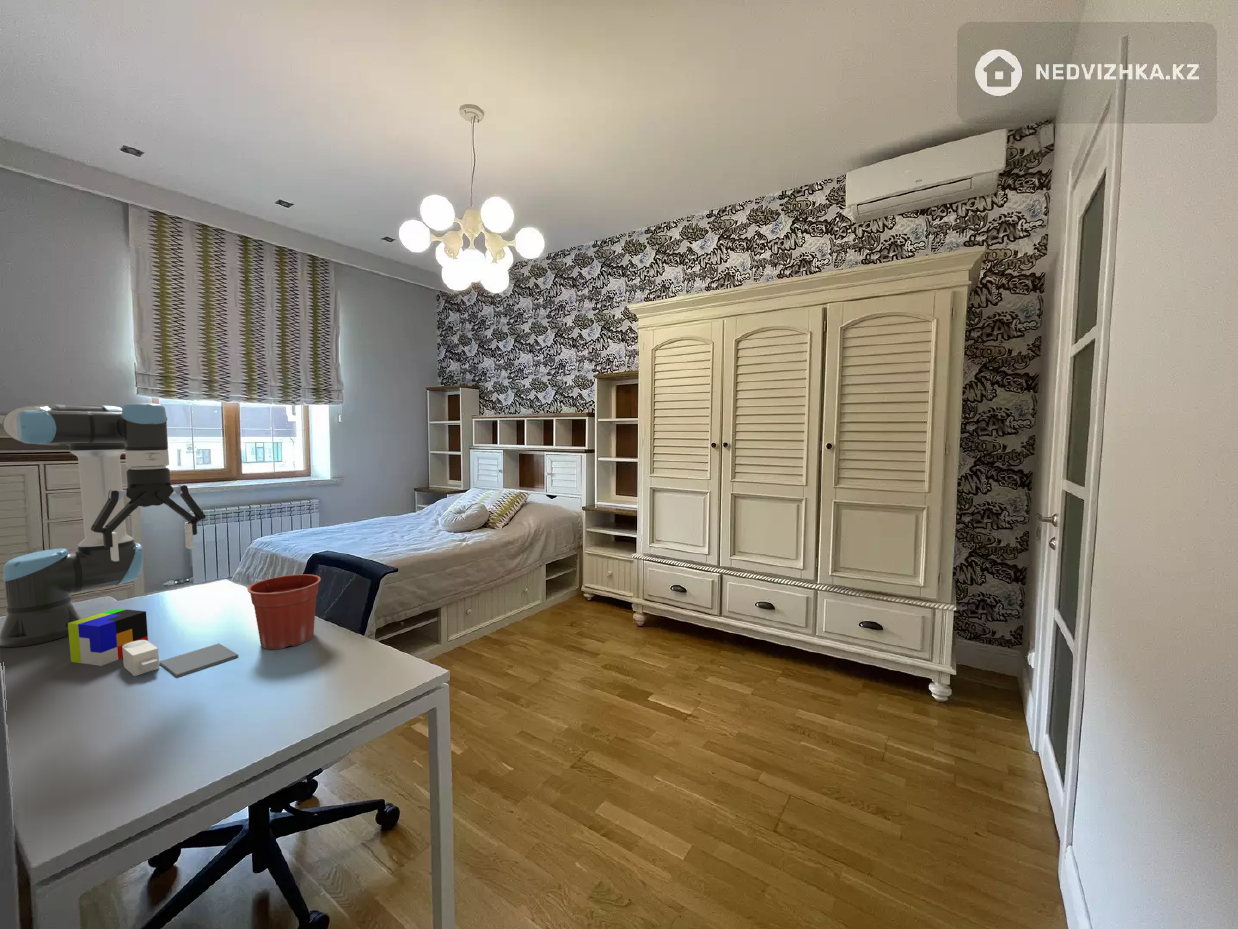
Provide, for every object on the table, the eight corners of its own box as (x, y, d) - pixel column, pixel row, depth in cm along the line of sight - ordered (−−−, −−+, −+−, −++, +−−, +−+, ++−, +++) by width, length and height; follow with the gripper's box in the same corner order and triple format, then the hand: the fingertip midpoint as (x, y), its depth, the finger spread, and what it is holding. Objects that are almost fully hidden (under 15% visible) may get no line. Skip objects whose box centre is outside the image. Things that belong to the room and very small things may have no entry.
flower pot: (326, 643, 132) (323, 585, 131) (250, 660, 122) (247, 597, 121) (319, 623, 145) (317, 570, 144) (250, 637, 135) (247, 581, 134)
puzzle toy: (101, 666, 119) (98, 626, 118) (71, 662, 121) (67, 623, 120) (148, 648, 129) (146, 611, 128) (119, 644, 131) (116, 608, 130)
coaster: (159, 663, 120) (159, 661, 120) (219, 645, 130) (219, 643, 130) (177, 677, 114) (176, 674, 114) (238, 656, 124) (238, 654, 124)
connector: (121, 664, 119) (119, 645, 119) (145, 657, 123) (144, 638, 123) (138, 680, 112) (137, 659, 112) (163, 672, 116) (162, 651, 116)
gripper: (76, 472, 105) (83, 568, 106) (218, 465, 126) (222, 545, 128) (67, 470, 109) (75, 563, 110) (206, 463, 130) (210, 542, 132)
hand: (154, 554), depth 119 cm, fingers open, 13 cm apart
